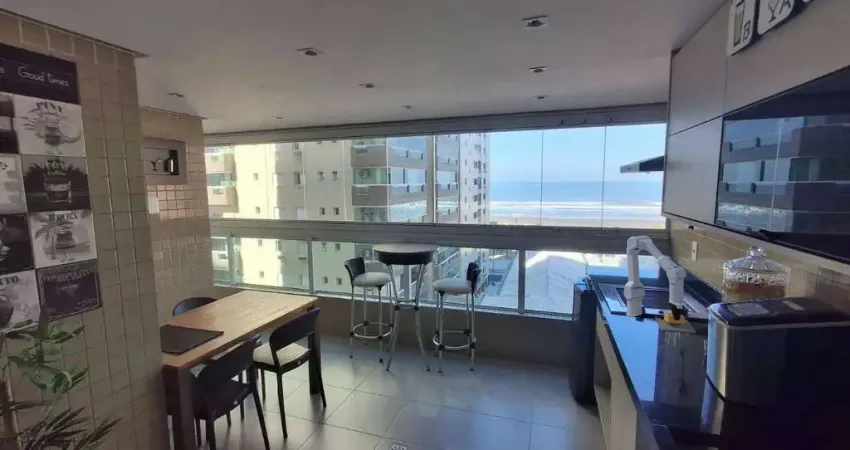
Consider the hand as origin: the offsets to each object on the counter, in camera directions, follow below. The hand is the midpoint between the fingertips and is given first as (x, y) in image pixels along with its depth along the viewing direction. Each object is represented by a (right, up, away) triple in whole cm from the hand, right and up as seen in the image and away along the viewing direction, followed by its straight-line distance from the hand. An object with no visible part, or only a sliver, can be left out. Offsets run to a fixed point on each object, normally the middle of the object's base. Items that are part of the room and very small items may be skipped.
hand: (676, 319), depth 194 cm
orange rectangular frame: (+2, -2, +4) cm, 5 cm away
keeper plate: (+2, -4, +5) cm, 7 cm away
